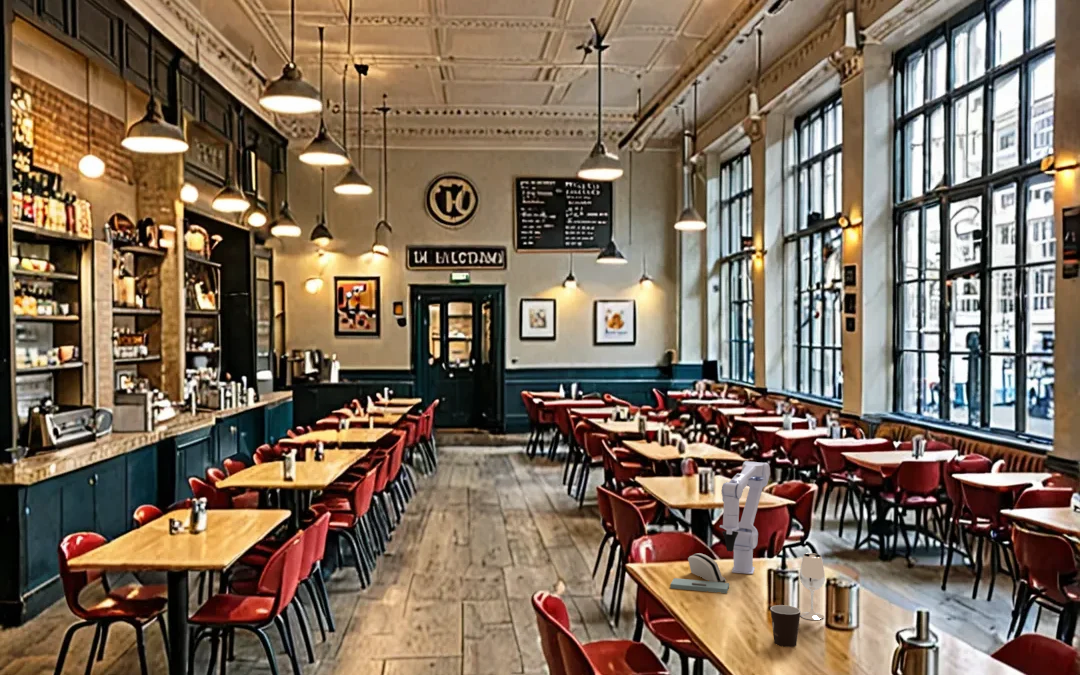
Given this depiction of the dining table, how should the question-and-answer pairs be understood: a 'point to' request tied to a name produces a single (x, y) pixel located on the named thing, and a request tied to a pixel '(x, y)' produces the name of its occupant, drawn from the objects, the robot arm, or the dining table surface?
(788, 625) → the coffee mug
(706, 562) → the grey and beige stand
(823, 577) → the wineglass
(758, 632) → the dining table surface
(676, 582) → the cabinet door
